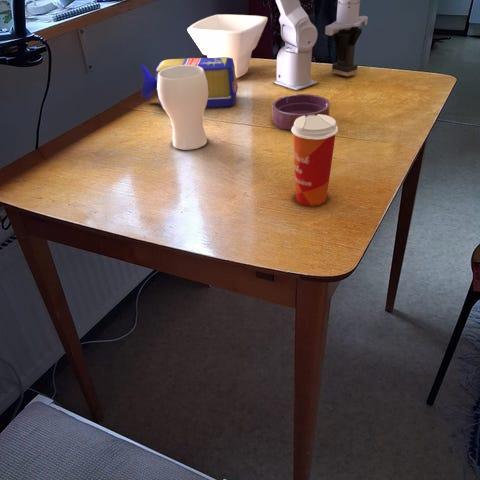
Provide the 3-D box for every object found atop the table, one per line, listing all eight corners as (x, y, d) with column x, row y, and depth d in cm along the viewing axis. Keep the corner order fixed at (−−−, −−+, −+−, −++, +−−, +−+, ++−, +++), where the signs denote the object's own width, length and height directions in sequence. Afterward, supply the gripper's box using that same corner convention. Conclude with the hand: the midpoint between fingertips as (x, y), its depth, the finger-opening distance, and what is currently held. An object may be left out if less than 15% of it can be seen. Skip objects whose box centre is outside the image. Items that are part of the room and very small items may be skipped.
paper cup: (287, 190, 91) (288, 115, 82) (327, 186, 91) (332, 111, 82) (293, 211, 86) (295, 133, 76) (336, 207, 86) (343, 128, 76)
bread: (236, 109, 123) (233, 65, 116) (142, 111, 126) (133, 68, 119) (239, 95, 131) (237, 53, 124) (150, 97, 133) (143, 56, 126)
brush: (331, 72, 138) (333, 44, 134) (341, 69, 140) (343, 41, 135) (347, 76, 135) (349, 48, 130) (357, 73, 137) (359, 44, 132)
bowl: (217, 64, 153) (213, 13, 143) (273, 69, 146) (273, 16, 136) (187, 83, 141) (181, 28, 131) (247, 89, 134) (245, 32, 124)
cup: (219, 135, 112) (213, 65, 101) (202, 155, 105) (194, 81, 94) (178, 131, 115) (168, 63, 104) (158, 150, 107) (146, 78, 97)
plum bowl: (260, 121, 116) (260, 104, 114) (301, 106, 122) (301, 90, 119) (299, 137, 108) (299, 119, 106) (340, 120, 114) (341, 103, 111)
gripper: (341, 9, 121) (336, 67, 130) (379, -1, 127) (372, 55, 136) (320, 5, 125) (317, 62, 134) (358, -4, 131) (353, 51, 140)
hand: (344, 59), depth 135 cm, fingers closed on brush, 2 cm apart
